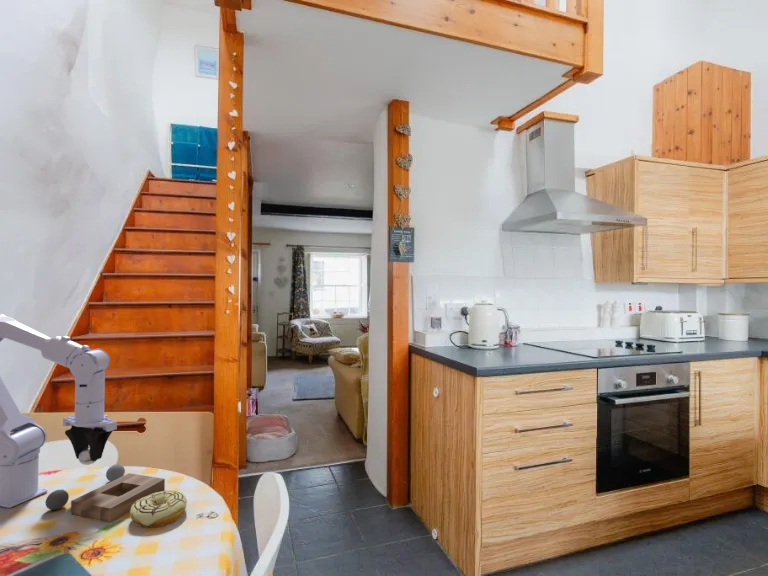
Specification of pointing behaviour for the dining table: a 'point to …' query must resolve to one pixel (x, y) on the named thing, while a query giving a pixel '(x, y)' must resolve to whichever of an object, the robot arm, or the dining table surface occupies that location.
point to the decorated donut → (158, 509)
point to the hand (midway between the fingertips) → (89, 458)
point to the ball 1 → (57, 499)
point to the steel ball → (85, 457)
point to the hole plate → (115, 497)
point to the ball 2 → (115, 472)
